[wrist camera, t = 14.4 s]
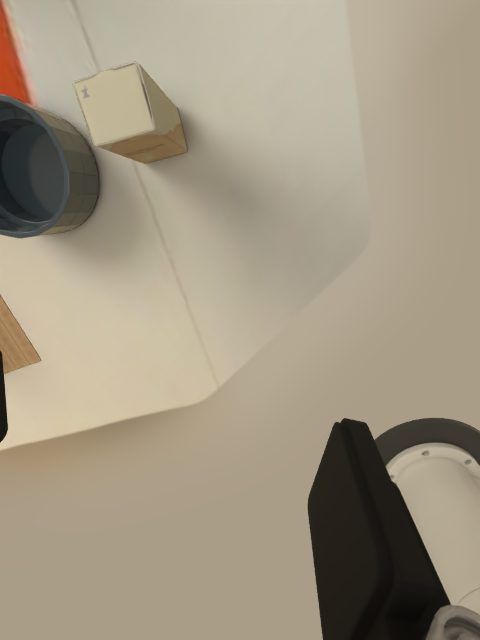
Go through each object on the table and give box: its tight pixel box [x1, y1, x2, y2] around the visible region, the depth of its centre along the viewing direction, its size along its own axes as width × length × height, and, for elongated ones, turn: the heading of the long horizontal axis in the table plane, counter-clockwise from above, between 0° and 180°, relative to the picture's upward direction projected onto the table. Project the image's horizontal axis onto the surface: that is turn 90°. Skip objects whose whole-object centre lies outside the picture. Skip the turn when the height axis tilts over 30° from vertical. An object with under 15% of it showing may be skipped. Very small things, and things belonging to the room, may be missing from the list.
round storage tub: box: [0, 94, 98, 238], centre depth 33 cm, size 12×12×6 cm
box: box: [72, 61, 187, 163], centre depth 28 cm, size 5×4×11 cm
